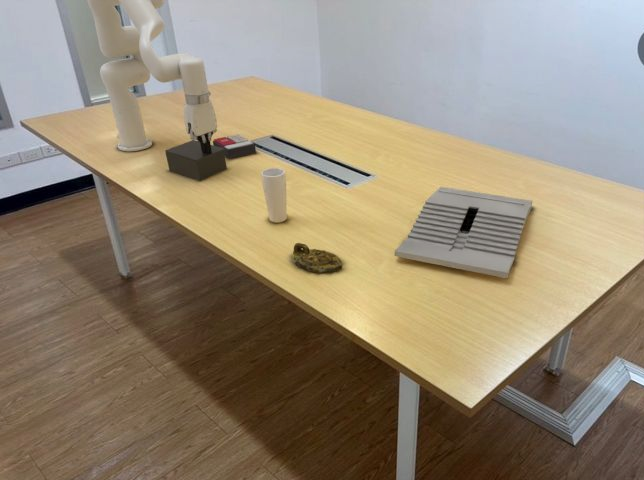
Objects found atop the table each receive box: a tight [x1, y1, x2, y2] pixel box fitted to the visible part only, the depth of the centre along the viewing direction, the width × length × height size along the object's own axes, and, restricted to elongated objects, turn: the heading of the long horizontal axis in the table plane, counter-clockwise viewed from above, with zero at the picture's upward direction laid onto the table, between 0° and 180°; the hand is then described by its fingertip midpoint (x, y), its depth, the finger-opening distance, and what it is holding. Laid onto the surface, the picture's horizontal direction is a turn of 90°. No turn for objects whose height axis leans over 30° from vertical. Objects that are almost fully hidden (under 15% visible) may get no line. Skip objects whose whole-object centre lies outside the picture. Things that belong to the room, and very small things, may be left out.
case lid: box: [164, 140, 225, 162], centre depth 192 cm, size 16×13×1 cm
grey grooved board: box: [394, 186, 533, 279], centre depth 157 cm, size 44×29×4 cm, turn 162°
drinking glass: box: [260, 167, 288, 224], centre depth 161 cm, size 7×7×15 cm
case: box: [165, 151, 228, 182], centre depth 195 cm, size 16×13×7 cm
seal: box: [292, 242, 343, 274], centre depth 144 cm, size 9×5×15 cm
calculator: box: [212, 133, 257, 160], centre depth 211 cm, size 11×4×15 cm
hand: (206, 152), depth 189 cm, fingers closed
